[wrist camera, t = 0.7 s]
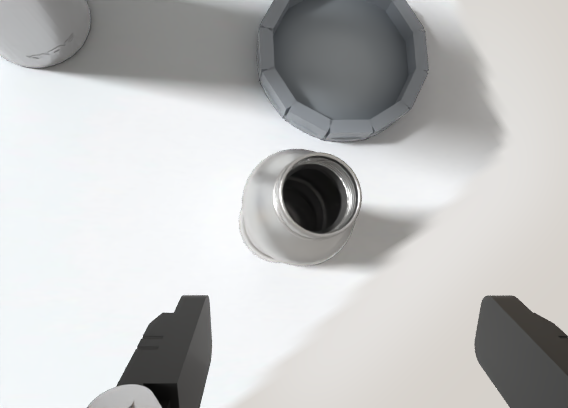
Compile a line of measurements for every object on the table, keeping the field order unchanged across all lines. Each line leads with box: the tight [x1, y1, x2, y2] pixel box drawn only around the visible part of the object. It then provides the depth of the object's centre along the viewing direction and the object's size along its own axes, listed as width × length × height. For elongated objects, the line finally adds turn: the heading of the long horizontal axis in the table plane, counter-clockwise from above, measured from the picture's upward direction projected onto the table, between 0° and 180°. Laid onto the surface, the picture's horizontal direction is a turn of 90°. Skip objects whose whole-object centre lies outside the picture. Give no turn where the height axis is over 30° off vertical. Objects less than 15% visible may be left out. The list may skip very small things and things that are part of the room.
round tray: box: [257, 0, 429, 142], centre depth 38 cm, size 16×16×2 cm
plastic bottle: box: [239, 149, 362, 266], centre depth 27 cm, size 6×7×20 cm
